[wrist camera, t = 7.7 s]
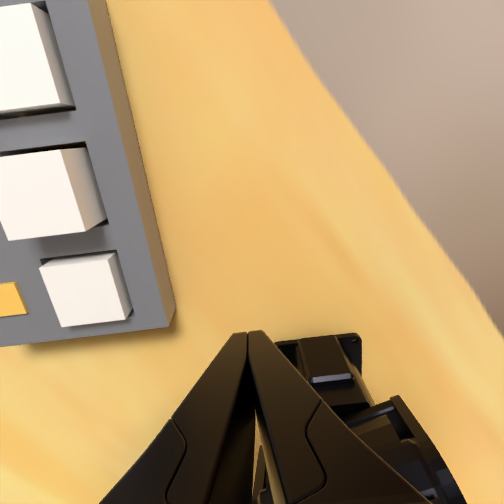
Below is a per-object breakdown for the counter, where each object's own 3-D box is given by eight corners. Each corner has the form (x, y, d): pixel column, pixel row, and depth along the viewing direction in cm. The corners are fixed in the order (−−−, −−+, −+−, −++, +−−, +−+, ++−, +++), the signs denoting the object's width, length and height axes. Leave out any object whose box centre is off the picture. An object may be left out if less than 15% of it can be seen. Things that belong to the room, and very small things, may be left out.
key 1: (89, 108, 17) (60, 102, 14) (21, 116, 17) (-22, 113, 14) (67, 26, 16) (30, 2, 13) (-7, 36, 16) (-60, 14, 13)
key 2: (140, 295, 21) (125, 319, 18) (85, 301, 21) (61, 327, 19) (126, 242, 20) (107, 259, 17) (67, 249, 20) (38, 268, 17)
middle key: (109, 216, 18) (85, 231, 15) (44, 224, 18) (8, 240, 15) (90, 147, 17) (59, 149, 14) (20, 155, 17) (-25, 160, 14)
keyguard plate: (176, 306, 22) (167, 328, 19) (20, 325, 22) (-9, 349, 20) (103, -9, 16) (76, -37, 13) (-114, 20, 16) (-181, -2, 13)
